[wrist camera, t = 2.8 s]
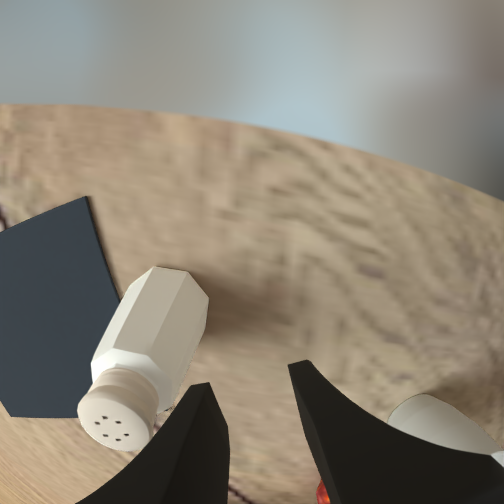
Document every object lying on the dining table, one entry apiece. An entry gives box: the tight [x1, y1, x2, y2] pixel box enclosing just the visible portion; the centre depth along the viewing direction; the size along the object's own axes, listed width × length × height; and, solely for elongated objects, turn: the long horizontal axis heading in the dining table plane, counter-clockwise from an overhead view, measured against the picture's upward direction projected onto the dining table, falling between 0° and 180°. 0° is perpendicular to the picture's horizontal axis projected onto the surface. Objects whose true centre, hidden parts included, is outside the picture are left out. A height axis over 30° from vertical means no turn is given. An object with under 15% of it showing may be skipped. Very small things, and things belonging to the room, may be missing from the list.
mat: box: [0, 196, 168, 418], centre depth 20 cm, size 18×16×1 cm
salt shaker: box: [77, 266, 209, 452], centre depth 14 cm, size 5×5×11 cm
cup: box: [387, 394, 504, 467], centre depth 18 cm, size 8×8×10 cm
